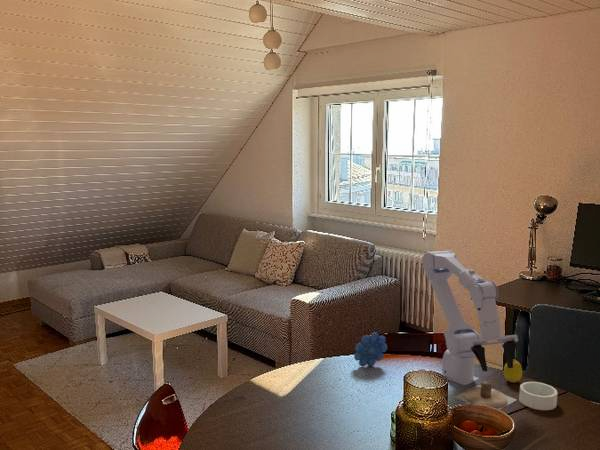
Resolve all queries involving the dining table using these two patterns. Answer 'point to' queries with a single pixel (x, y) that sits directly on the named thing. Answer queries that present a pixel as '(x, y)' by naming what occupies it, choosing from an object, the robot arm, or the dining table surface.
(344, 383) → the dining table surface
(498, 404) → the lid
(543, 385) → the bowl
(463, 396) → the mat
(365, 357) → the grapes
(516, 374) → the lemon
